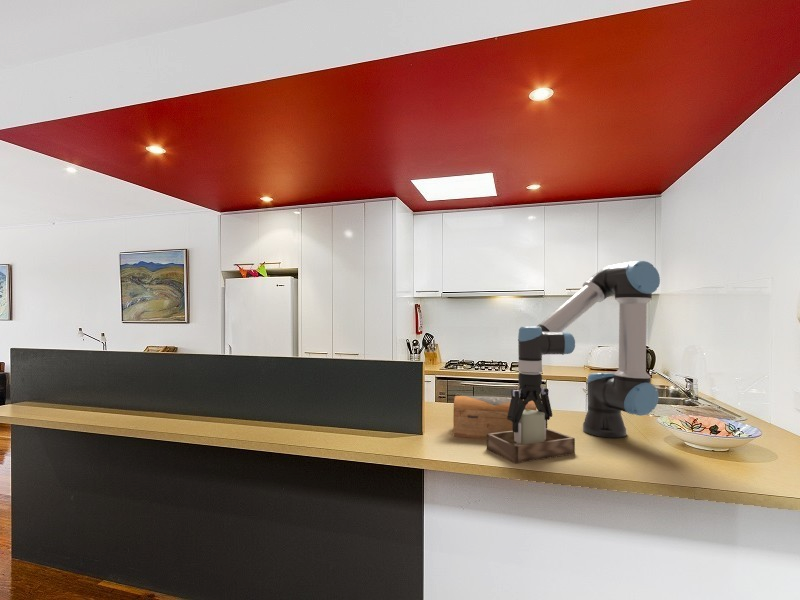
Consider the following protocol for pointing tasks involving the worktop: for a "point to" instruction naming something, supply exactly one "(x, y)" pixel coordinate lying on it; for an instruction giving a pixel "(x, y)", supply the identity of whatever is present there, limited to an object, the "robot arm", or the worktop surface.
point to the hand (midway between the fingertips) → (530, 440)
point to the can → (532, 427)
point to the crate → (530, 446)
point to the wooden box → (482, 415)
